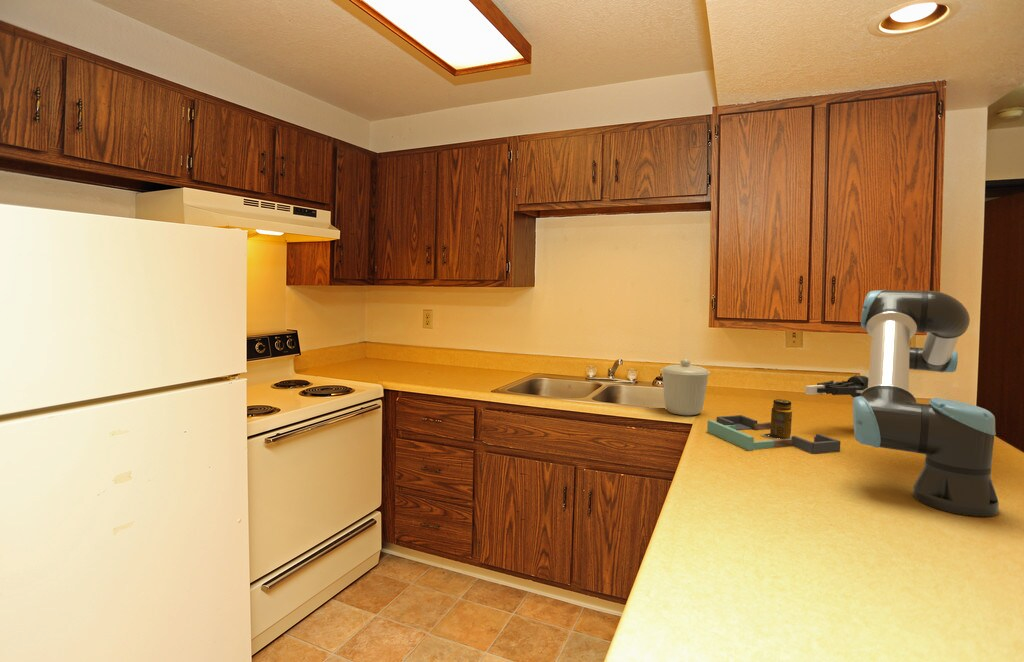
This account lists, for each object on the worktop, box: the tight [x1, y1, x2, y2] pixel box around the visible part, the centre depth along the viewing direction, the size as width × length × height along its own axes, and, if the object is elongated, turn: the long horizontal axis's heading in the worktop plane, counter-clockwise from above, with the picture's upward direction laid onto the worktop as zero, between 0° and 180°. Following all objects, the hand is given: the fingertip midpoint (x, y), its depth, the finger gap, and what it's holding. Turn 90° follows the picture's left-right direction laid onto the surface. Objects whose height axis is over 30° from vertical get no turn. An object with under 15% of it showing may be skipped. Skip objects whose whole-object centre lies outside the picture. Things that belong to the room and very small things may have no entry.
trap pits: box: [715, 414, 841, 454], centre depth 175 cm, size 18×34×3 cm, turn 15°
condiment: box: [761, 398, 793, 440], centre depth 175 cm, size 7×8×12 cm
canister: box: [660, 358, 711, 416], centre depth 206 cm, size 18×18×21 cm
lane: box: [752, 421, 817, 448], centre depth 175 cm, size 20×19×2 cm
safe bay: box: [706, 419, 774, 451], centre depth 171 cm, size 10×20×4 cm, turn 15°
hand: (807, 390), depth 177 cm, fingers closed
